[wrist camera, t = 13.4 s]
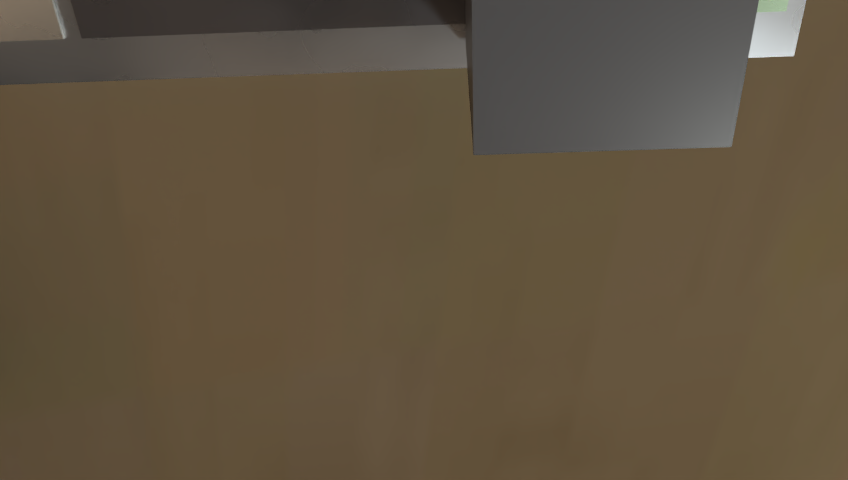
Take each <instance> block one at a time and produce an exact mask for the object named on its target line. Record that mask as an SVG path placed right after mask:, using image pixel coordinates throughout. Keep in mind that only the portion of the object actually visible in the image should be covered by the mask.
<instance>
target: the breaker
mask: <svg viewBox="0 0 848 480" xmlns="http://www.w3.org/2000/svg"><path fill="white" fill-rule="evenodd" d="M758 3H759V0H465V26H466V57H467V71H468V85H469V99H470V112H471V126H472V140H473V154H474V155H489V154H521V153H553V152H585V151H617V150H648V149H680V148H712V147H732V141H733V136H734V131H735V125H736V120H737V115H738V109H739V104H740V99H741V93H742V88H743V83H744V77H745V72H746V67H747V61H748V56H749V51H750V45H751V40H752V35H753V29H754V24H755V19H756V13H757V8H758Z"/></svg>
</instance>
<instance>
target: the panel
mask: <svg viewBox="0 0 848 480" xmlns="http://www.w3.org/2000/svg"><path fill="white" fill-rule="evenodd" d="M805 4H806V0H759V3H758V8H757V13H756V19H755V24H754V29H753V35H752V40H751V45H750V51H749V56H748V58H753V57H781V56H794V54H795V49H796V44H797V40H798V35H799V31H800V26H801V22H802V17H803V13H804V8H805ZM449 68H467V57H466V26H465V0H0V85H8V84H35V83H63V82H90V81H118V80H146V79H173V78H201V77H228V76H256V75H284V74H311V73H339V72H367V71H394V70H422V69H449Z"/></svg>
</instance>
